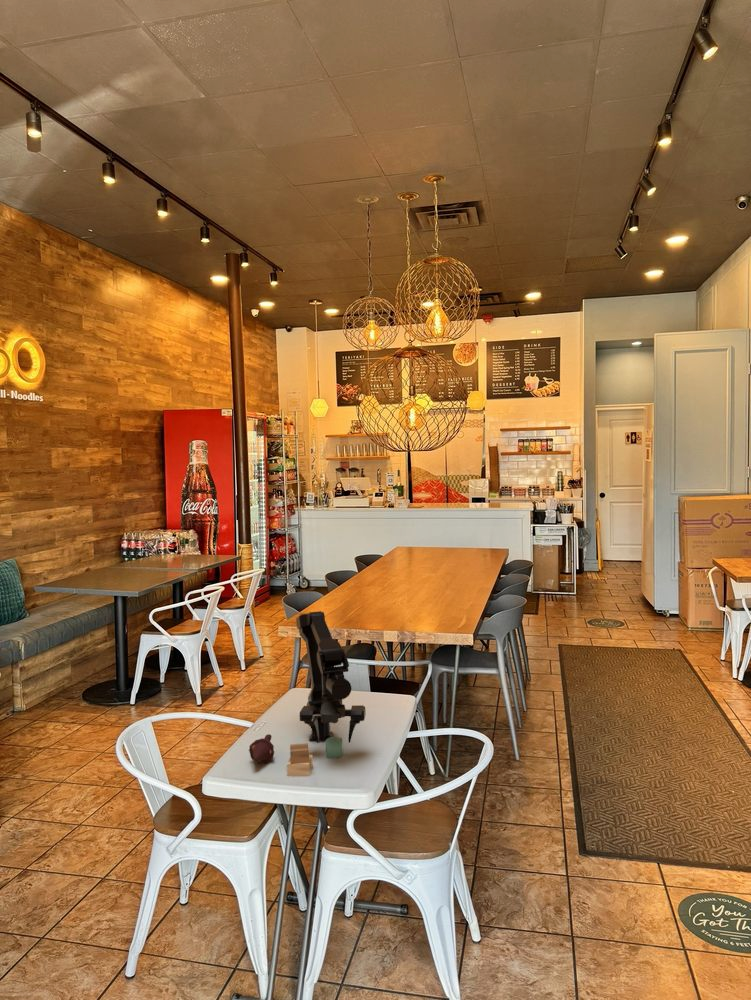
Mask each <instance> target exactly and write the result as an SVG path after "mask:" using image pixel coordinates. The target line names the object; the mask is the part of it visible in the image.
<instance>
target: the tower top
mask: <svg viewBox="0 0 751 1000" xmlns="http://www.w3.org/2000/svg"><path fill="white" fill-rule="evenodd" d="M309 750H310V749H309V742H308V743H307V742H306V743H305V742H304V743H293V744H291V743H290V745H289V754H290V755H289V757H290V758H291V764H299V763H309V755H310V754H309V753H310V752H309ZM290 758H289V759H290Z"/></svg>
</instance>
